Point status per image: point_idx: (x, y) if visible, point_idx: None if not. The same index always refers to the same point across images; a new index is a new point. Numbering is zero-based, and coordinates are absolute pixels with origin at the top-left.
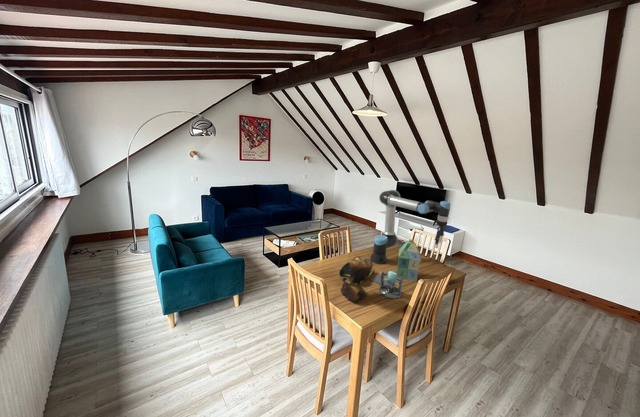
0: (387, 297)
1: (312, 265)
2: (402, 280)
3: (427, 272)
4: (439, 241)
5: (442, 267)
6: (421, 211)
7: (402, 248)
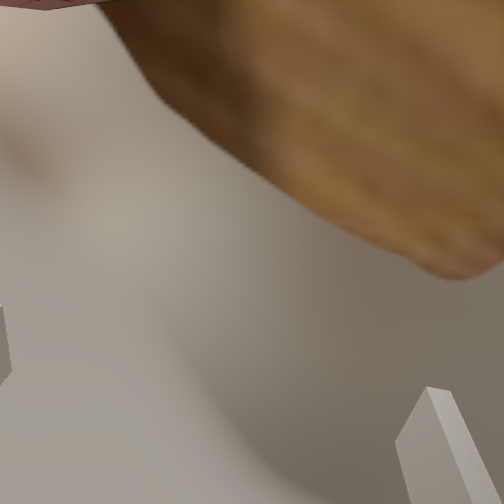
0: None
1: None
2: None
3: (303, 104)
4: (427, 445)
5: (479, 232)
6: None
7: None
